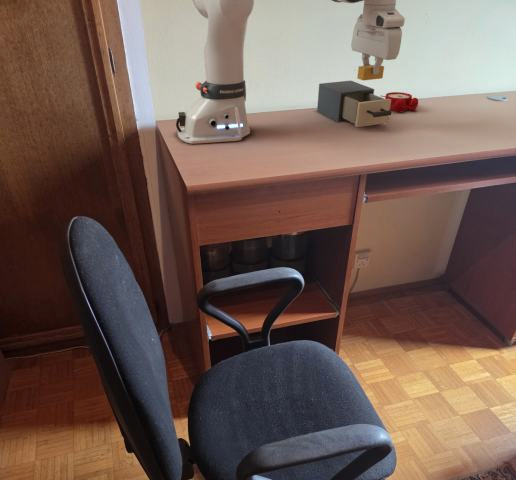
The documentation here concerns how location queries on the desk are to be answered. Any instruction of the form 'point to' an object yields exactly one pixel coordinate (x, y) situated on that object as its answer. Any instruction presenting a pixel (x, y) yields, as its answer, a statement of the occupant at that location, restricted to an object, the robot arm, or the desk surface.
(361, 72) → the yellow rectangular block
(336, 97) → the cabinet
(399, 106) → the alarm clock
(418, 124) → the desk surface
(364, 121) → the drawer
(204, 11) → the robot arm
